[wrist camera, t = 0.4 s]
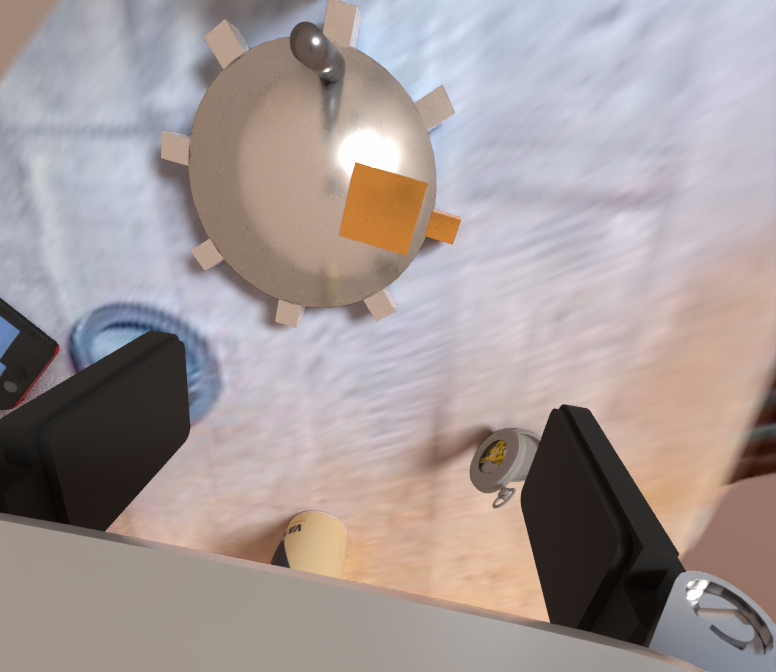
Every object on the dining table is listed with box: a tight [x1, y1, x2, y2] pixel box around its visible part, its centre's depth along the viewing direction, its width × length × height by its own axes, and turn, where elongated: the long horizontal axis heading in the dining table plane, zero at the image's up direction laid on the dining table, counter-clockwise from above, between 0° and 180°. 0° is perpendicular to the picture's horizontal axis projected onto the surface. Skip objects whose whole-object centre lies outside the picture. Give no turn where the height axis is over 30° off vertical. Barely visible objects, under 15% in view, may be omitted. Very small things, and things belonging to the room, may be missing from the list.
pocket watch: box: [470, 429, 541, 508], centre depth 39 cm, size 8×8×10 cm
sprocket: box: [161, 0, 461, 328], centre depth 30 cm, size 24×24×8 cm
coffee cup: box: [270, 510, 348, 579], centre depth 46 cm, size 9×9×12 cm
